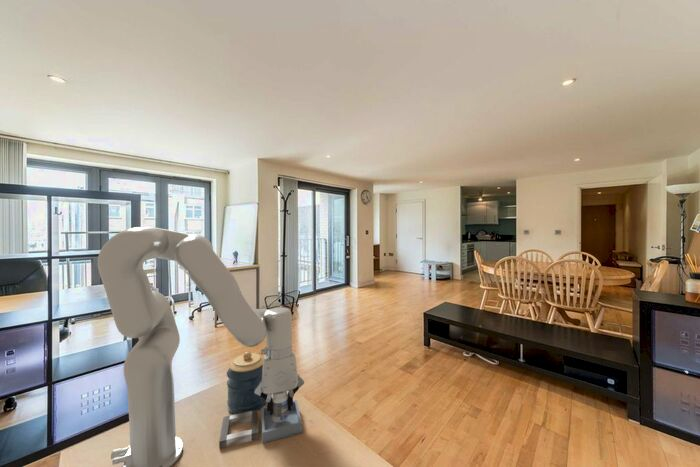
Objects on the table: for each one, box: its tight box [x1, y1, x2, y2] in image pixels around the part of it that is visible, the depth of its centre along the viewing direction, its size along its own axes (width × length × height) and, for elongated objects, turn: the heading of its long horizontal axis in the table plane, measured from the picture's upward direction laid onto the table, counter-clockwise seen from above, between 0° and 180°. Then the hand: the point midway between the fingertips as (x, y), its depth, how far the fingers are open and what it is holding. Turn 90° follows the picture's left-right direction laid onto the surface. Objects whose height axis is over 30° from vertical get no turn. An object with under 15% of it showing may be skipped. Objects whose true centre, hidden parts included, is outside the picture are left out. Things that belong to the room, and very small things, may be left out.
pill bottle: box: [271, 391, 288, 422], centre depth 82 cm, size 5×5×8 cm
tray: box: [260, 399, 303, 444], centre depth 83 cm, size 11×11×3 cm
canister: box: [226, 351, 267, 415], centre depth 92 cm, size 13×13×18 cm
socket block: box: [218, 410, 259, 449], centre depth 80 cm, size 10×10×2 cm
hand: (280, 409), depth 82 cm, fingers closed on pill bottle, 4 cm apart
